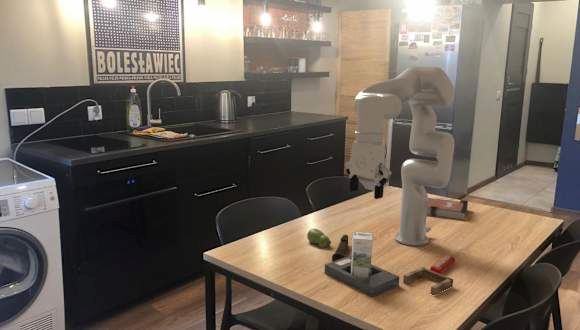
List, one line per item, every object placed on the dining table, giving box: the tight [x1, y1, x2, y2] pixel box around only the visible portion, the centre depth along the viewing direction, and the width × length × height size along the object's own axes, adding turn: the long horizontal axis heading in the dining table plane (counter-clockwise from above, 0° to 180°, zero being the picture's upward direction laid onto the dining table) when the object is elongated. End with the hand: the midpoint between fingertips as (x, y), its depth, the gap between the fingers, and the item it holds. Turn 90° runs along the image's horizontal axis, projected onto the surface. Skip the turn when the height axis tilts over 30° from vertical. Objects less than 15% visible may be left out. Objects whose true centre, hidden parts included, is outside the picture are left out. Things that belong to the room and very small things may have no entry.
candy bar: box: [429, 254, 457, 275], centre depth 157 cm, size 16×4×3 cm, turn 140°
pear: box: [306, 228, 332, 249], centre depth 175 cm, size 6×5×10 cm
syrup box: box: [351, 232, 373, 279], centre depth 146 cm, size 6×6×14 cm
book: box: [427, 197, 469, 221], centre depth 218 cm, size 26×18×5 cm
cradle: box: [402, 266, 454, 296], centre depth 144 cm, size 10×11×2 cm
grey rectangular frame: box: [324, 255, 400, 298], centre depth 147 cm, size 12×20×3 cm, turn 40°
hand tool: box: [331, 234, 349, 262], centre depth 166 cm, size 19×4×5 cm, turn 162°
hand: (365, 194), depth 142 cm, fingers open, 9 cm apart
